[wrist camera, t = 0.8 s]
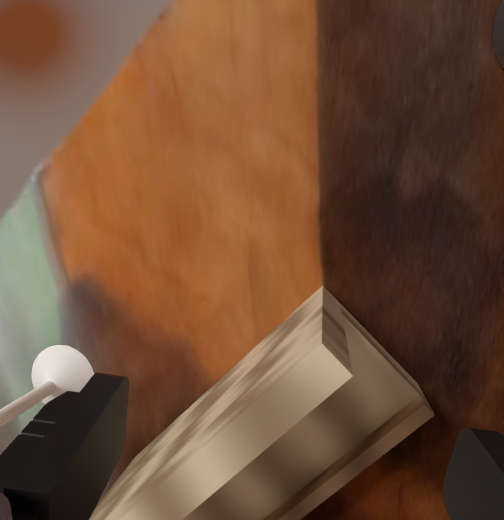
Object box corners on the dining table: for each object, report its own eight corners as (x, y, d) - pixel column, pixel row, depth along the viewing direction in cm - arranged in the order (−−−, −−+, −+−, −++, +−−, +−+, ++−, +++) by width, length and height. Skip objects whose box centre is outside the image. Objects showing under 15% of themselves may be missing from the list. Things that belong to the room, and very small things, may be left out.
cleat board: (322, 285, 34) (321, 343, 19) (417, 383, 34) (498, 527, 18) (134, 457, 39) (6, 620, 23) (215, 545, 38) (139, 773, 23)
